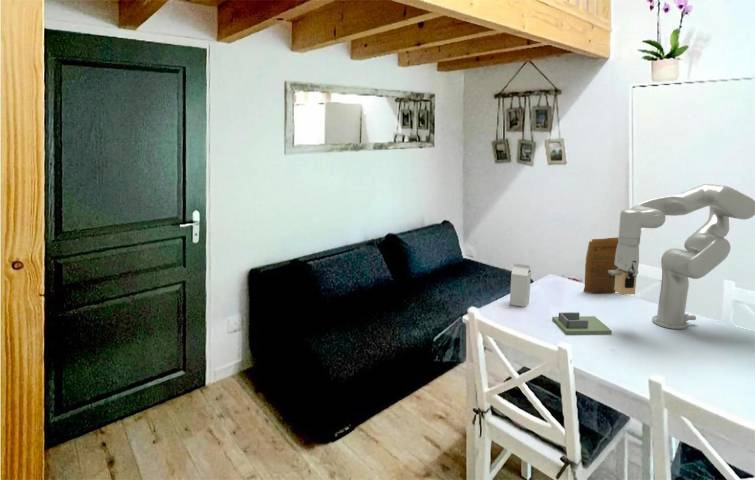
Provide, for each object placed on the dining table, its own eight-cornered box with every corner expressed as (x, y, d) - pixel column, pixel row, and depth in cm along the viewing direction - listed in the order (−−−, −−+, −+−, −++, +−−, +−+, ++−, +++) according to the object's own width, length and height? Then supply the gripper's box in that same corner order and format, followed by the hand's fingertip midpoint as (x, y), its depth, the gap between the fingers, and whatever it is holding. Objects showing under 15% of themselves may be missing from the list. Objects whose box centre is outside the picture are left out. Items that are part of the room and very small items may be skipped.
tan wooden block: (627, 289, 194) (629, 268, 192) (634, 294, 189) (636, 272, 187) (605, 290, 194) (607, 269, 192) (612, 295, 189) (613, 273, 187)
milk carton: (525, 307, 218) (527, 267, 214) (509, 304, 222) (511, 265, 217) (529, 302, 224) (531, 263, 220) (513, 300, 227) (516, 261, 223)
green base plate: (594, 319, 203) (595, 309, 202) (611, 334, 189) (612, 323, 188) (552, 320, 203) (552, 310, 202) (565, 334, 189) (566, 323, 188)
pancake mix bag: (623, 294, 234) (629, 238, 228) (584, 294, 234) (589, 238, 228) (616, 289, 241) (622, 235, 235) (578, 290, 241) (583, 235, 235)
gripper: (608, 236, 195) (605, 278, 199) (630, 246, 178) (626, 292, 182) (627, 235, 195) (623, 278, 199) (651, 245, 178) (646, 292, 182)
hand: (625, 284), depth 191 cm, fingers closed on tan wooden block, 5 cm apart
